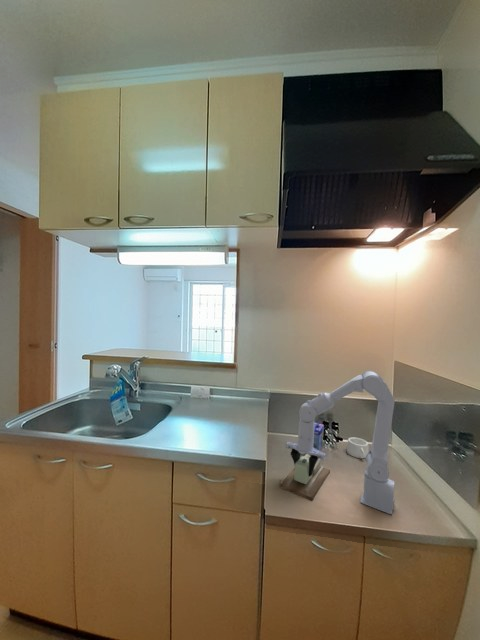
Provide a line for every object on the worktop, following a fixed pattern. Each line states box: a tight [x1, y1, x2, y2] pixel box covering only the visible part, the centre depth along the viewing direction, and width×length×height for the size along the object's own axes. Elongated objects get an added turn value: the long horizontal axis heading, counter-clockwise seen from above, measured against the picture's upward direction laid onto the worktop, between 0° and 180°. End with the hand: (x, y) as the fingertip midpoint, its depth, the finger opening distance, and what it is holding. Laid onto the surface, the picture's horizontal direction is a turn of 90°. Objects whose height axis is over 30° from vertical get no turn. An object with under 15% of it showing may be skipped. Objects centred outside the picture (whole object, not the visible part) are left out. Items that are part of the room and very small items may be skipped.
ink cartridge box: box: [313, 420, 325, 452], centre depth 128 cm, size 10×6×14 cm, turn 152°
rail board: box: [279, 454, 331, 501], centre depth 106 cm, size 12×22×8 cm, turn 147°
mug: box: [346, 436, 370, 459], centre depth 128 cm, size 12×10×6 cm
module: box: [294, 455, 312, 484], centre depth 103 cm, size 4×7×7 cm, turn 147°
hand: (303, 472), depth 103 cm, fingers closed on module, 4 cm apart
